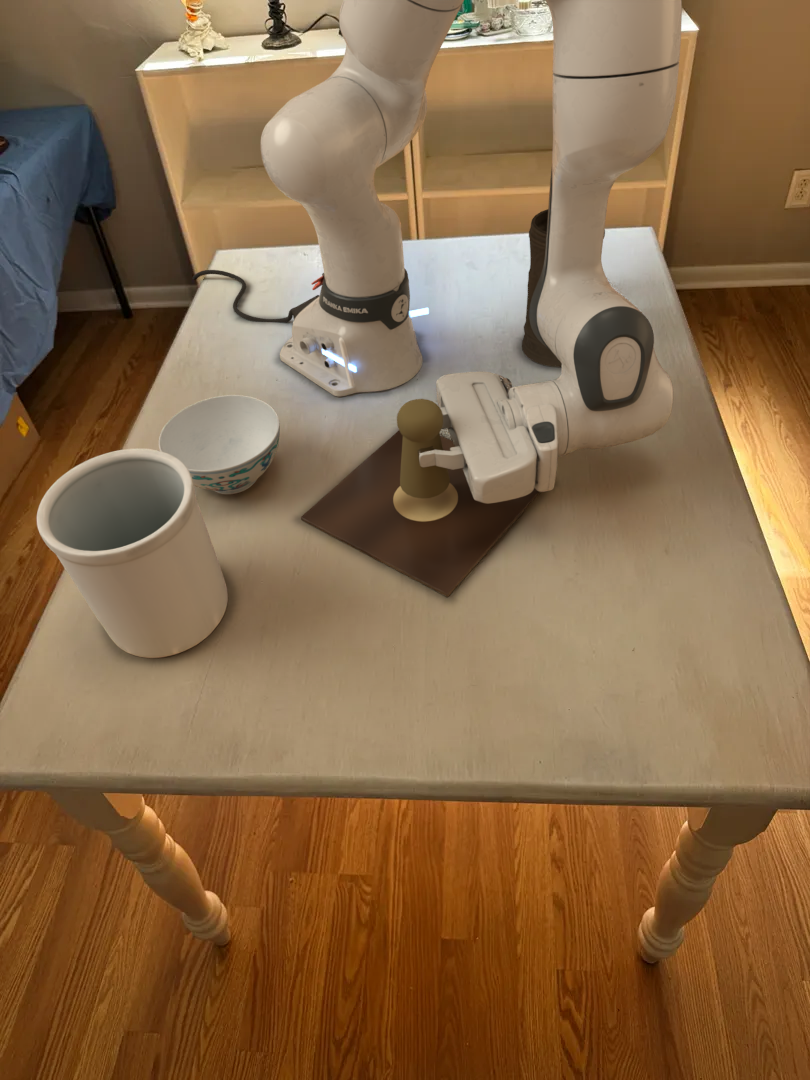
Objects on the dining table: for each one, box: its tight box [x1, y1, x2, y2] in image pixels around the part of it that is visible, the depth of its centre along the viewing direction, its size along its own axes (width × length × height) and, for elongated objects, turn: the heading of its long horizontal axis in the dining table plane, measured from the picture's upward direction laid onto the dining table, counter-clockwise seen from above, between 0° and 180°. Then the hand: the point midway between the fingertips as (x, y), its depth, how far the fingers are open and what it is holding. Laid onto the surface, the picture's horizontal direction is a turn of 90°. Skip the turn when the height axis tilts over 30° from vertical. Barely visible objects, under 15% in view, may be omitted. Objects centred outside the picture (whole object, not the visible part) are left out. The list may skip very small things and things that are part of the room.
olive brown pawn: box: [396, 398, 450, 499], centre depth 90 cm, size 6×6×11 cm
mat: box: [300, 430, 541, 598], centre depth 97 cm, size 22×22×1 cm
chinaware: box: [158, 394, 281, 495], centre depth 100 cm, size 15×15×8 cm
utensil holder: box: [36, 447, 229, 659], centre depth 82 cm, size 15×15×18 cm
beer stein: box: [521, 208, 606, 368], centre depth 113 cm, size 15×11×20 cm
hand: (414, 444), depth 90 cm, fingers closed on olive brown pawn, 4 cm apart
